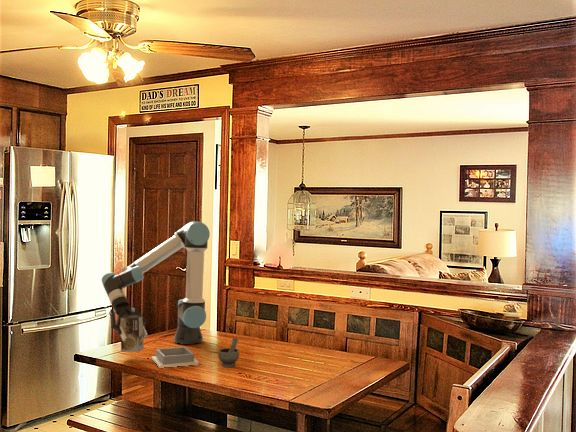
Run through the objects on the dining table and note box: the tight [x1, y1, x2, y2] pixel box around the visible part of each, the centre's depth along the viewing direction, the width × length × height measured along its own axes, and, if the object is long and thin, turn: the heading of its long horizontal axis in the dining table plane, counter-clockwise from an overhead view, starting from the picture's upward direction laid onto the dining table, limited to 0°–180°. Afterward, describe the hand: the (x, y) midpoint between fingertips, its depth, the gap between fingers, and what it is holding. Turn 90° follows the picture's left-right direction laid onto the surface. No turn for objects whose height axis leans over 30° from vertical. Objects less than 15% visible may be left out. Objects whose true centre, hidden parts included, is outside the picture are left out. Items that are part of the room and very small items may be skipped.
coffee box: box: [120, 315, 144, 353], centre depth 287 cm, size 9×6×16 cm
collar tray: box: [150, 346, 200, 369], centre depth 282 cm, size 18×18×5 cm
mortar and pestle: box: [217, 337, 240, 368], centre depth 278 cm, size 11×9×12 cm
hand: (135, 337), depth 284 cm, fingers closed on coffee box, 10 cm apart
